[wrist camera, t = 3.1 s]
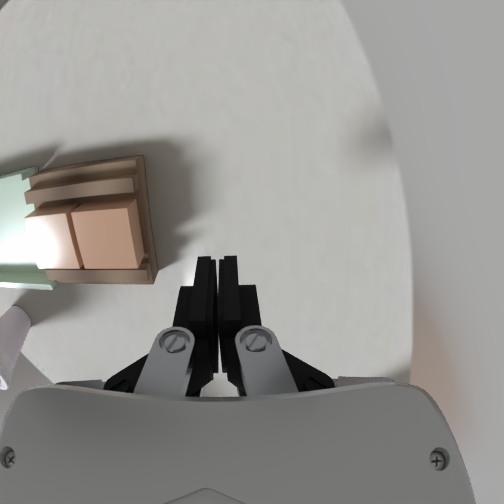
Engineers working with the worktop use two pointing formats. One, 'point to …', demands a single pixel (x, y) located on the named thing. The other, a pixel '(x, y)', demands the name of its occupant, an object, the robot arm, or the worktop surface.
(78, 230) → the tile
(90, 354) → the worktop surface
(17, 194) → the tray
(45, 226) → the tile
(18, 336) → the smoothie
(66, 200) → the chute
